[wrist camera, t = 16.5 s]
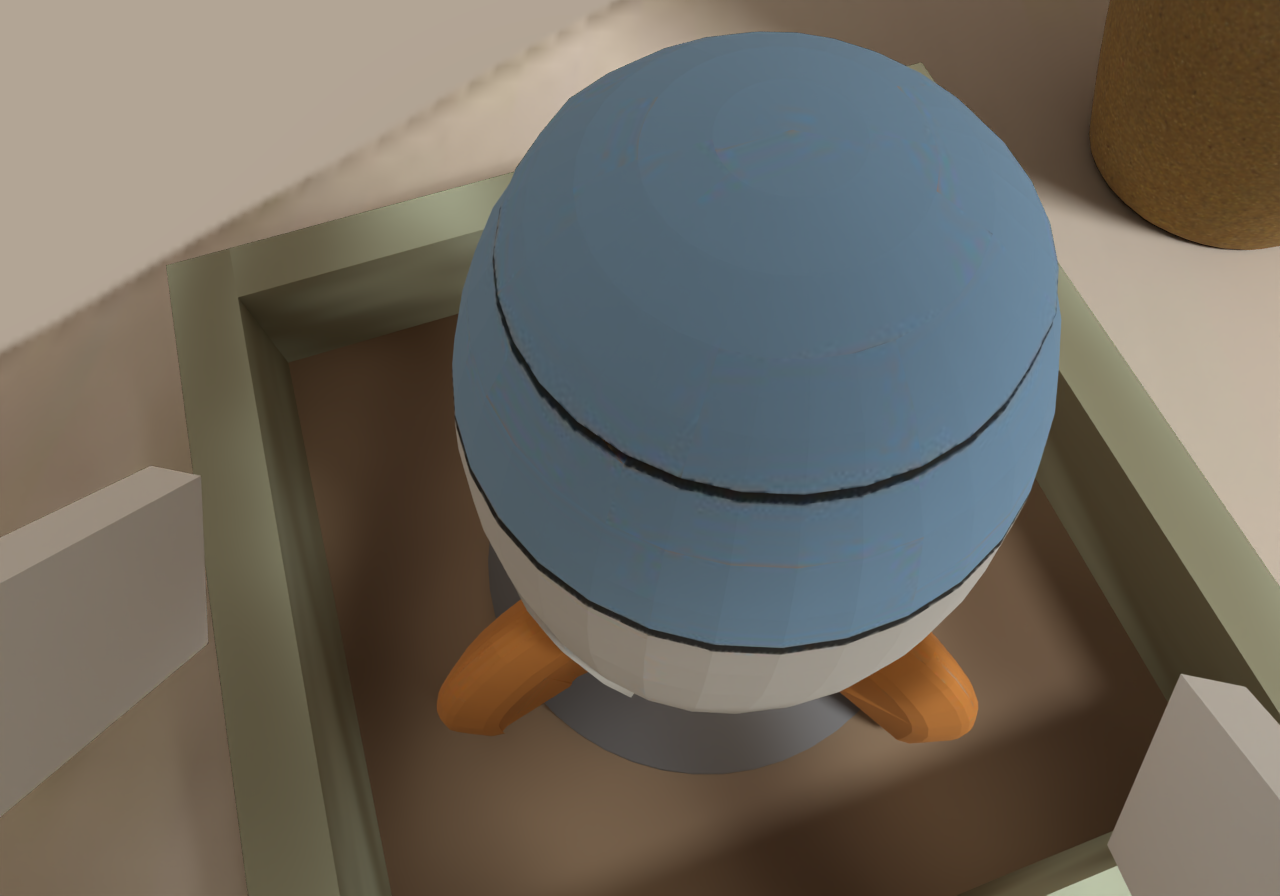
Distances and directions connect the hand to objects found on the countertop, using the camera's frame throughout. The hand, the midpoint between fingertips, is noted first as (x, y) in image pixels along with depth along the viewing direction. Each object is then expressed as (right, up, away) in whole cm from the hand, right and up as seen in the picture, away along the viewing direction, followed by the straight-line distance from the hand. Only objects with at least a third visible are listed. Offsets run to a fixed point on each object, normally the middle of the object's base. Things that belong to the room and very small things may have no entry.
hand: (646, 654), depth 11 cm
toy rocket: (+1, 0, +9) cm, 9 cm away
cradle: (+1, 0, +10) cm, 10 cm away
